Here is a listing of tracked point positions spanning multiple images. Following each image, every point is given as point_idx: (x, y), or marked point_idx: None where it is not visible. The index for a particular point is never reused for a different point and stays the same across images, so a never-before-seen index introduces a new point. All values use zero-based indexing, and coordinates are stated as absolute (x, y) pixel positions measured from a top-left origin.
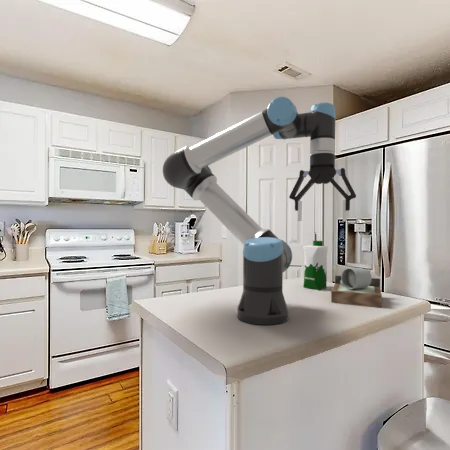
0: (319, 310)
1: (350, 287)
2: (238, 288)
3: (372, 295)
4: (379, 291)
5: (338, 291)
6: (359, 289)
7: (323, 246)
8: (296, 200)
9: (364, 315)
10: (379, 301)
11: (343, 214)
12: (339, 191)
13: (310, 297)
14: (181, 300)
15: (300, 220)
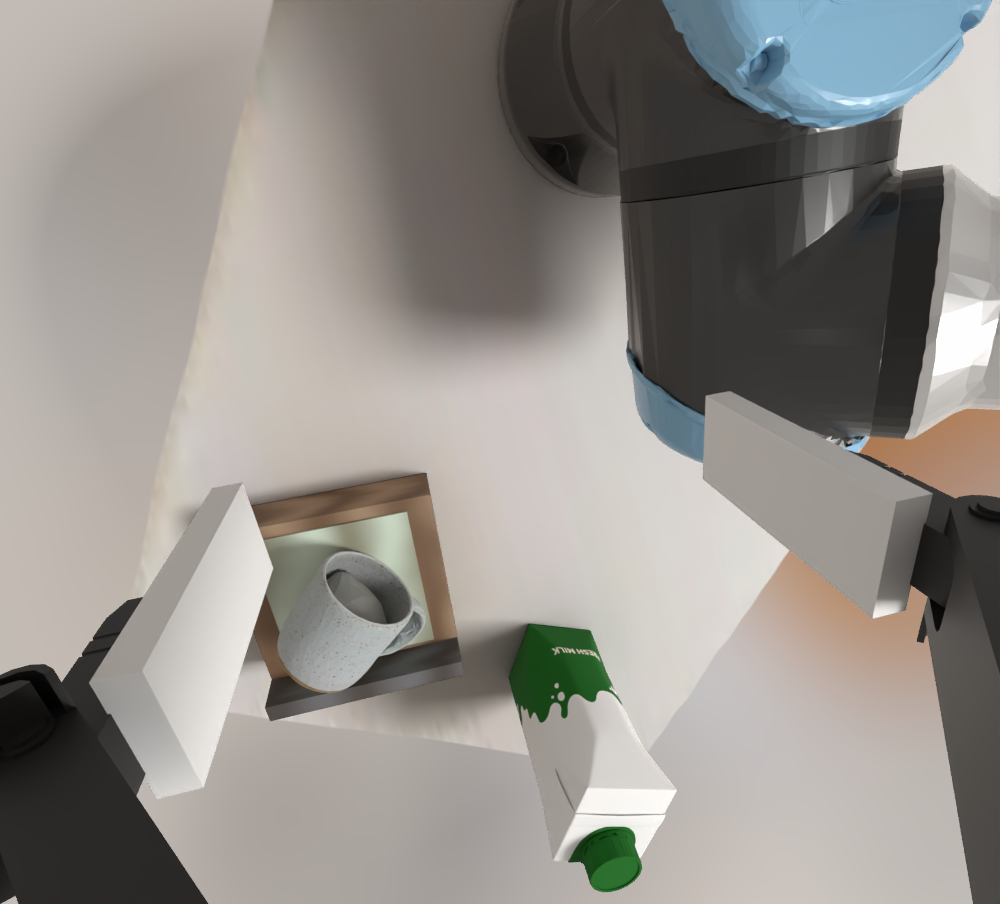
0: (430, 322)
1: (368, 578)
2: None
3: None
4: None
5: (400, 502)
6: None
7: (568, 829)
8: (965, 497)
9: (250, 352)
10: None
11: (209, 524)
12: (151, 844)
13: (521, 497)
14: (986, 139)
15: (708, 409)
